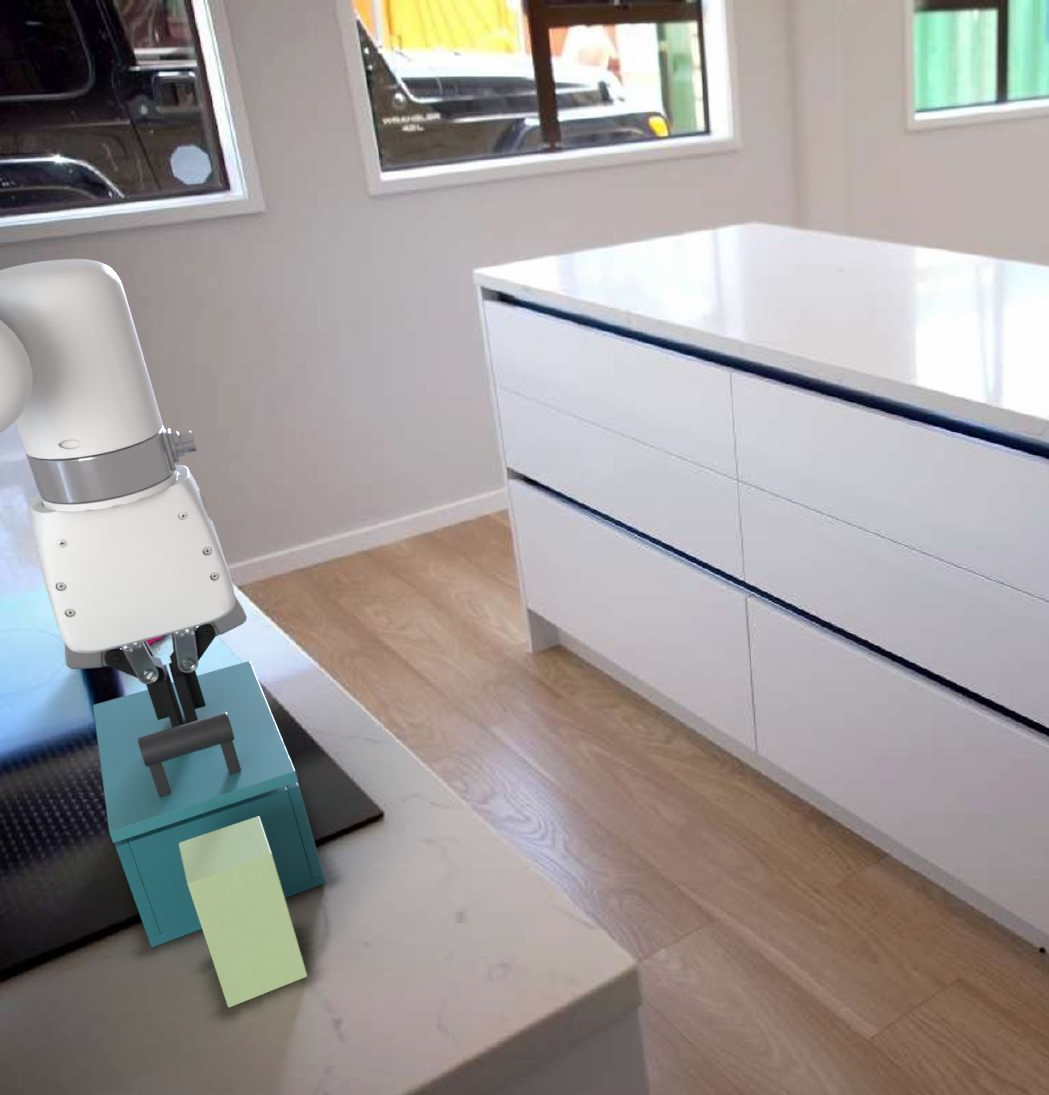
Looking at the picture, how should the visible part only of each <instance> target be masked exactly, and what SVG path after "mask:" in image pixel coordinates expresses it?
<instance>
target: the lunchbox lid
mask: <svg viewBox="0 0 1049 1095" xmlns="http://www.w3.org/2000/svg"><path fill="white" fill-rule="evenodd" d="M197 678H198V681H199V685H200V688H201V691H202V694H203V698H204V701H205V704H206V706H205V707H201V708H198V709H195V711H196V714H197V718H198V720H197V721H194V722H190V723H186V720H185V717H184V713H183V710H182V707H181V704H180V701H179V697H178V694H177V691H176V688H175V685H174V682H172V685H173V688H174V691H175V695H176V698H177V701H178V704H179V707H180V711H181V714H182V718H183V722H184V725H180V726H177V727H174V728H172V725H171V722H170V718H169V717H167V718H164V719H161V720H158V719H157V716H156V713H155V710H154V707H153V704H152V701H151V698H150V695H149V692H148V689H144V690H142V691H139V692H135V693H131V694H127V695H123V696H120V697H117V698H116V697H115V698H113V699H110V700H106V701H103V702H99V703H96V704H93V705H92V709H93V716H94V724H95V732H96V740H97V746H98V755H99V764H100V771H101V779H102V786H103V793H104V794H103V795H104V801H105V808H106V816H107V823H108V824H107V825H108V832H109V833H108V834H109V835H110V838H111V841H112V843H113V844H115V842H118V841H121V840H124V839H127V838H130V837H133V836H136V835H139V834H142V833H145V832H148V831H151V830H154V829H157V828H160V827H163V826H166V825H169V824H172V823H175V822H179V821H182V820H185V819H188V818H191V817H194V816H197V815H200V814H203V813H206V812H209V811H212V810H215V809H218V808H221V807H224V806H227V805H230V804H233V803H236V802H239V801H242V800H245V799H248V798H251V797H254V796H257V795H260V794H263V793H266V792H269V791H272V790H275V789H278V788H281V787H284V786H287V785H290V784H293V783H297V782H299V779H298V775H297V771H296V769H295V767H294V764H293V762H292V759H291V756H290V754H289V752H288V749H287V747H286V744H285V742H284V740H283V737H282V734H281V732H280V729H279V728H278V725H277V723H276V722H277V721H276V720H275V718H274V715H273V713H272V711H271V708H270V706H269V703H268V700H267V698H266V696H265V694H264V691H263V688H262V686H261V683H260V681H259V679H258V676H257V674H256V672H255V669H254V667H253V664H252V661H251V660H248V661H243V662H240V663H237V664H233V665H230V666H227V667H222V668H218V669H216V670H212V671H209V672H208V671H207V672H205V673H202V674H198V675H197Z"/></svg>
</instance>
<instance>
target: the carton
mask: <svg viewBox="0 0 1049 1095" xmlns="http://www.w3.org/2000/svg"><path fill="white" fill-rule="evenodd" d="M179 848H180V853H181V857H182V862H183V866H184V871H185V875H186V880H187V884H188V887H189V890H190V893H191V896H192V899H193V902H194V905H195V908H196V911H197V914H198V918H199V921H200V924H201V927H202V929H201V930H202V932H203V935H204V940H205V942H206V944H207V947H208V951H209V953H210V956H211V960H212V963H213V966H214V969H215V972H216V975H217V978H218V981H219V984H220V987H221V989H222V993H223V996H224V999H225V1002H226V1005H227V1007H228V1008H232V1007H234V1006H238V1005H239V1004H242V1003H244V1002H247V1001H249V1000H252V999H255V998H257V997H259V996H263V995H265V994H267V993H269V992H272V991H275V990H277V989H281V988H282V987H285V986H288V985H289V984H292V983H295V982H297V981H300V980H302V979H305V978H307V977H308V972H307V969H306V966H305V962H304V959H303V955H302V952H301V949H300V946H299V941H298V937H297V934H296V932H295V928H294V925H293V921H292V918H291V914H290V910H289V907H288V904H287V900H286V898H285V897H284V893H283V890H282V886H281V883H280V879H279V876H278V873H277V869H276V866H275V862H274V859H273V855H272V852H271V849H270V846H269V843H268V840H267V837H266V834H265V831H264V828H263V825H262V822H261V819H260V817H259V816H257V817H254V818H251V819H248V820H245V821H242V822H240V823H237V824H234V825H231V826H228V827H225V828H222V829H219V830H216V831H213V832H210V833H207V834H204V835H201V836H198V837H195V838H192V839H189V840H186V841H183V842H180V843H179Z"/></svg>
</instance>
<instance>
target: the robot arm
mask: <svg viewBox="0 0 1049 1095" xmlns="http://www.w3.org/2000/svg"><path fill="white" fill-rule="evenodd" d="M14 423H15V426H16V430H17V433H18V434H19V437H20V440H21V443H22V446H23V449H24V452H25V455H26V458H27V462H28V464H29V467H30V470H31V473H32V476H33V479H34V482H35V484H36V488H37V491H38V494H35V495H34V496H33V497H31V498H30V499H29V502H28V503H29V516H30V524H31V529H32V530H31V531H32V535H33V541H34V546H35V549H36V550H35V551H36V554H37V559H38V563H39V566H40V570H41V574H42V577H43V582H44V585H45V589H46V592H47V595H48V599H49V603H50V606H51V609H52V612H53V616H54V619H55V622H56V625H57V627H58V630H59V633H60V635H61V637H62V640H63V641H64V642H63V643H64V656H65V664H66V666H67V668H68V669H69V670H70V669H71V670H86V669H99V668H104V667H109V668H111V669H114V670H116V671H118V672H122V673H124V674H126V675H129V676H132V677H134V678H137V679H138V681H139V682H140V683H142V684H144V685H146V689H147V690H148V692H149V695H150V698H151V701H152V704H153V707H154V710H155V713H156V716H157V719H158V720H161V719H164V718H167V717H169V718H170V722H171V725H172V728H174V727H177V726H180V725H184V722H183V718H182V714H181V711H180V707H179V704H178V701H177V698H176V695H175V691H174V688H173V685H172V683H173V682H174V685H175V688H176V691H177V694H178V697H179V701H180V704H181V707H182V710H183V713H184V717H185V720H186V723H190V722H194V721H197V720H198V718H197V714H196V711H195V709H198V708H201V707H205V706H206V704H205V701H204V698H203V694H202V691H201V688H200V685H199V681H198V678H197V676H198V675H197V672H196V670H197V669H198V667H199V661H200V660H201V658H202V657H203V656H204V654H205V652H206V651H207V650H208V648H209V647H210V646H211V644H212V643H213V641H214V640H215V638H217V637H218V636H220V635H221V636H223V635H225V634H226V633H228V632H230V631H231V630H234V629H235V628H237V627H240V626H241V625H243V624H244V623H246V621H247V615H246V612H245V609H244V608H243V606H242V604H241V603H240V601H239V600H238V597H237V596H236V594H235V588H234V585H233V580H232V576H231V573H230V569H229V566H228V564H227V560H226V557H225V555H224V552H223V548H222V545H221V542H220V539H219V536H218V534H217V531H216V528H215V525H214V522H213V520H212V516H211V514H210V511H209V508H208V505H207V504H206V501H205V499H204V496H203V494H202V492H201V490H200V488H199V486H198V484H197V481H196V480H195V478H194V476H193V474H192V473H191V471H190V469H189V468H188V467H187V466H186V465H183V464H176V463H179V462H180V459H179V458H181V457H185V455H186V454H191V453H194V452H195V453H196V452H198V451H197V447H196V442H195V439H194V436H193V433H192V431H191V430H188V431H184V432H178V431H173V432H171V429H170V428H164V424H163V420H162V416H161V412H160V409H159V406H158V401H157V399H156V396H155V392H154V388H153V385H152V381H151V378H150V375H149V371H148V368H147V364H146V361H145V357H144V353H143V350H142V348H141V344H140V340H139V336H138V334H137V329H136V326H135V322H134V320H133V316H132V312H131V309H130V306H129V302H128V299H127V295H126V292H125V289H124V286H123V283H122V281H121V279H120V278H119V275H117V273H116V272H115V271H114V270H113V268H112V267H110V266H109V265H107V264H105V263H103V262H101V261H99V260H92V259H86V258H65V259H52V260H51V259H50V260H44V261H43V260H42V261H36V262H29V263H25V264H20V265H15V266H10V267H7V268H3V269H0V434H1V433H3V432H5V431H6V430H7V429H8V428H9V427H11V426H12V425H13V424H14ZM164 635H165V636H167V635H171V642H172V653H171V654H170V655H169V658H170V659H169V660H170V661H171V662H169V663H168V667H169V670H168V667H167V663H166V664H163V661H162V659H161V658H159V657H157V656H155V654H154V652H153V650H152V649H151V647H150V644H149V645H148V643H147V641H146V640H149V639H153V638H157V637H160V636H164ZM165 636H164V637H165ZM169 671H170V673H169ZM170 674H171V676H170ZM171 677H172V678H171ZM172 680H173V682H172Z"/></svg>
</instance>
